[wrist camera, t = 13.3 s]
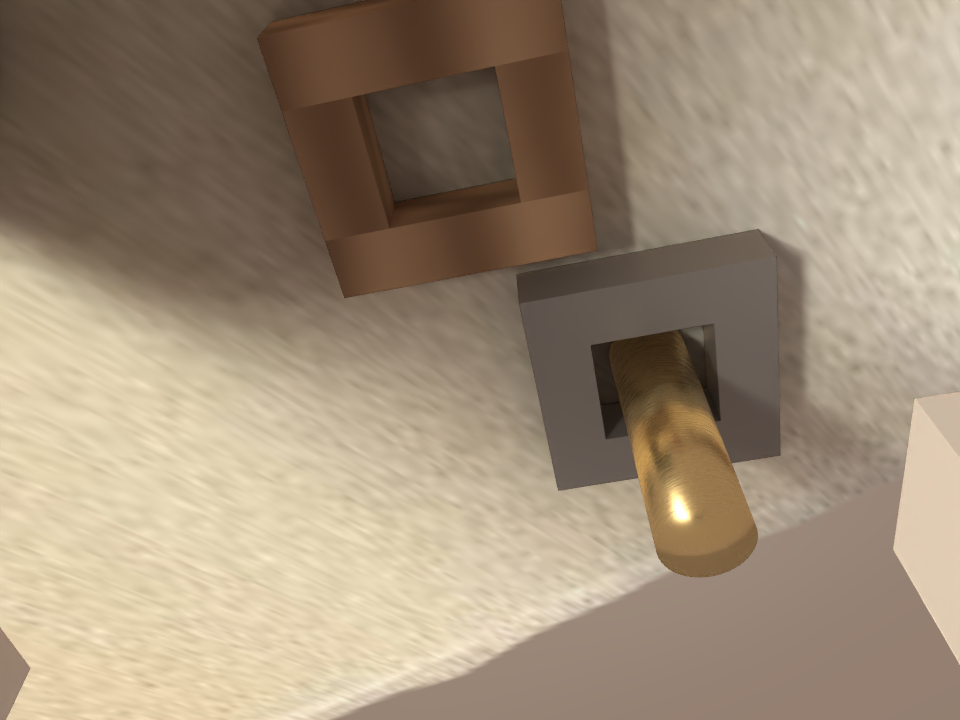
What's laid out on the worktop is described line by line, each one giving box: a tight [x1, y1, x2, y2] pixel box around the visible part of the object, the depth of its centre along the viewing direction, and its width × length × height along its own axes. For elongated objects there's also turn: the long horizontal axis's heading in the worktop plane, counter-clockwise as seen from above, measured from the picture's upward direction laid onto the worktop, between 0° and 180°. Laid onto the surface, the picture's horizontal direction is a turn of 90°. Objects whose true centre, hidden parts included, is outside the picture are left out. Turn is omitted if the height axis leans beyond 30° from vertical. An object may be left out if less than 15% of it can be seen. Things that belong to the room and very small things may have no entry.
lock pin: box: [609, 330, 758, 577], centre depth 40 cm, size 4×4×14 cm
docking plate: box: [517, 229, 780, 491], centre depth 44 cm, size 12×12×3 cm
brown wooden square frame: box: [257, 0, 597, 298], centre depth 38 cm, size 12×12×3 cm
